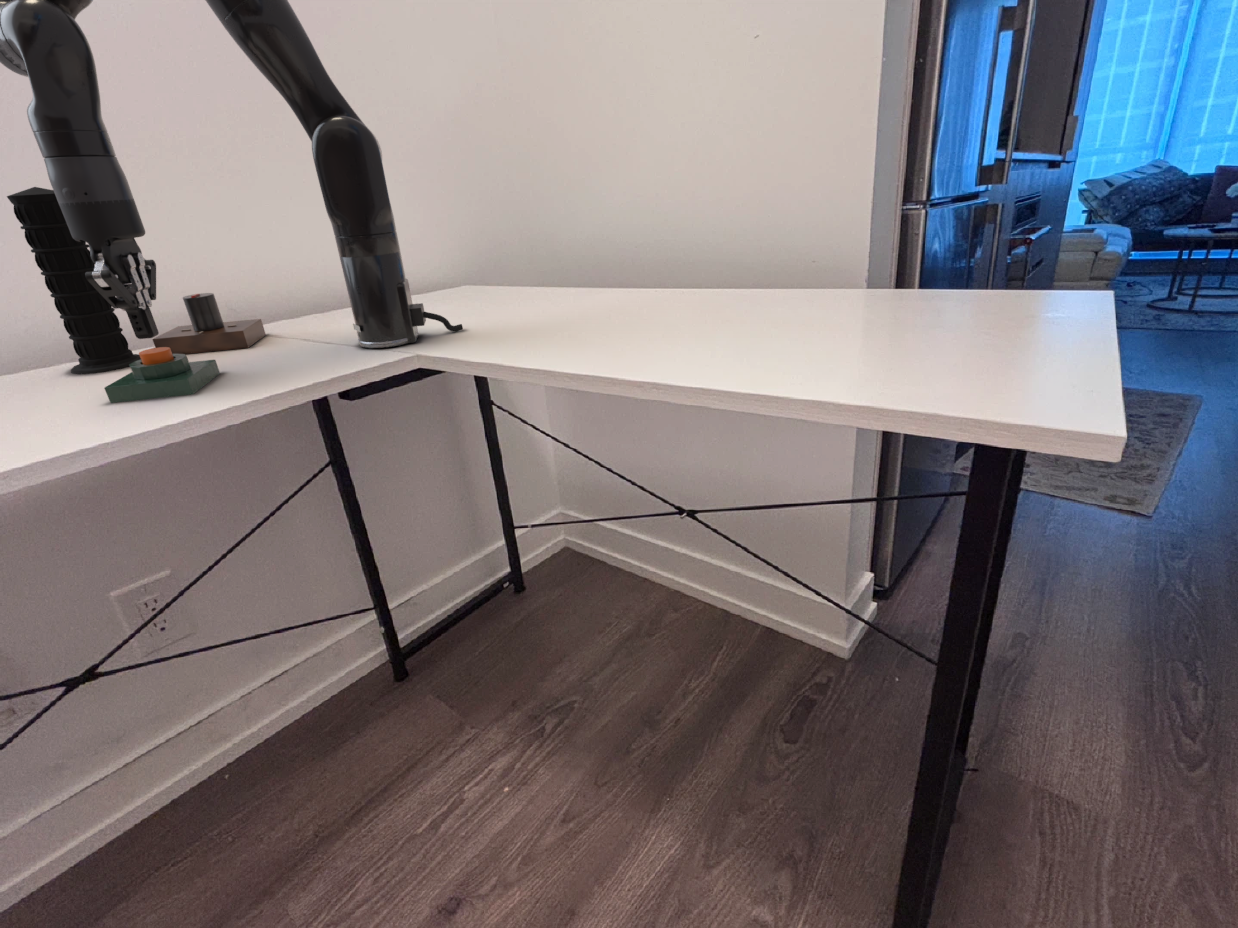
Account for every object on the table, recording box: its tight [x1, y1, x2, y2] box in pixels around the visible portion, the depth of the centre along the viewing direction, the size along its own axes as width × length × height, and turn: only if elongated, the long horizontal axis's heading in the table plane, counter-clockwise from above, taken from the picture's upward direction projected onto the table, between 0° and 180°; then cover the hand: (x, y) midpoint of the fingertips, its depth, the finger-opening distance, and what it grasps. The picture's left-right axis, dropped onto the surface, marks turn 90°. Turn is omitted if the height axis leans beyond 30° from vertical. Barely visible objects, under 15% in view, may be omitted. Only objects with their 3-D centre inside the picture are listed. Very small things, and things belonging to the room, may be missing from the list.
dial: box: [182, 292, 224, 331], centre depth 107 cm, size 5×5×6 cm
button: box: [138, 347, 174, 365], centre depth 85 cm, size 4×4×2 cm
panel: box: [151, 318, 267, 355], centre depth 109 cm, size 14×10×3 cm
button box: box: [103, 354, 221, 404], centre depth 86 cm, size 10×10×4 cm
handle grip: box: [6, 186, 141, 376], centre depth 95 cm, size 10×26×10 cm
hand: (148, 337), depth 84 cm, fingers closed
